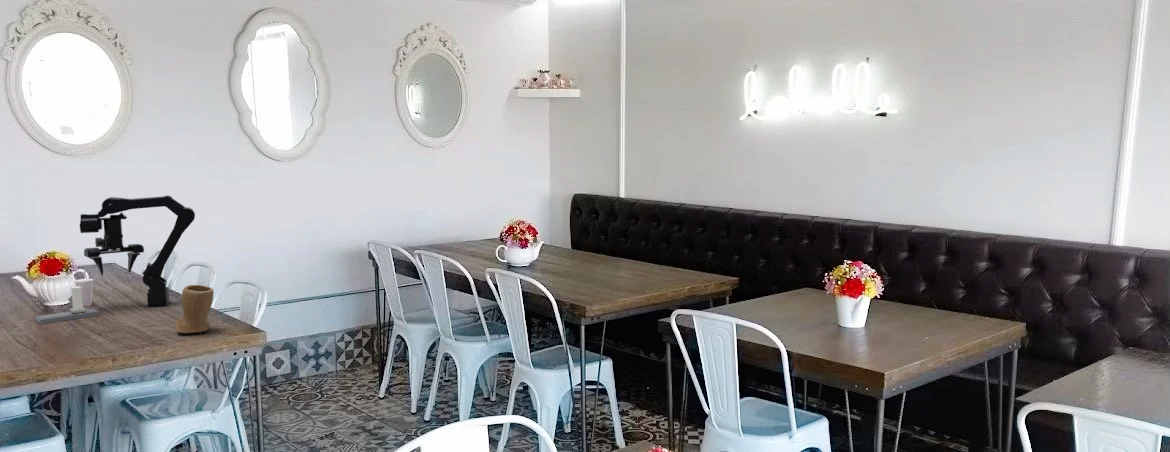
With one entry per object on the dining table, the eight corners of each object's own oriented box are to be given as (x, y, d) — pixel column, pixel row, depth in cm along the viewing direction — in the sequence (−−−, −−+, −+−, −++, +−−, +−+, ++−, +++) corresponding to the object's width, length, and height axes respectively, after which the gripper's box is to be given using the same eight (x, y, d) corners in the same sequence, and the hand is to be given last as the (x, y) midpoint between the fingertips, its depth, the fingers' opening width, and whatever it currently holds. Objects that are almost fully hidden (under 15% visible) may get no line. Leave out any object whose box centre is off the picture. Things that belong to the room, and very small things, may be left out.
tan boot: (216, 333, 278) (213, 287, 276) (175, 337, 273) (172, 291, 271) (215, 323, 291) (212, 280, 289) (176, 327, 287) (173, 283, 285)
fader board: (93, 312, 312) (92, 307, 312) (99, 315, 306) (98, 311, 306) (35, 320, 300) (35, 315, 299) (40, 324, 294) (40, 319, 294)
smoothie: (89, 306, 321) (86, 270, 320) (72, 307, 321) (69, 270, 320) (99, 303, 328) (96, 267, 326) (82, 303, 328) (79, 267, 326)
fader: (82, 309, 308) (80, 285, 307) (86, 311, 304) (84, 287, 303) (70, 310, 305) (68, 287, 304) (73, 313, 302) (71, 289, 301)
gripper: (133, 227, 327) (136, 268, 329) (78, 231, 314) (81, 274, 316) (143, 230, 319) (145, 271, 321) (86, 234, 306) (89, 277, 308)
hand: (115, 273), depth 316 cm, fingers open, 9 cm apart
